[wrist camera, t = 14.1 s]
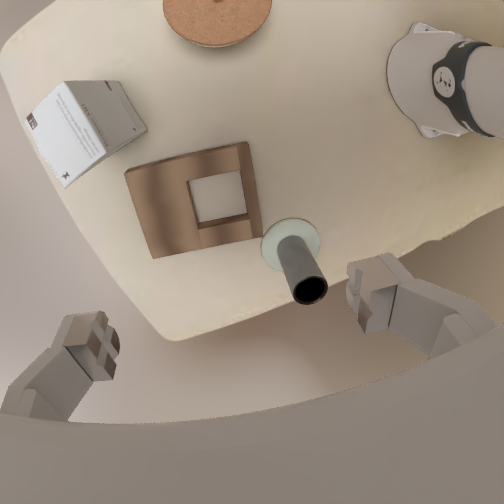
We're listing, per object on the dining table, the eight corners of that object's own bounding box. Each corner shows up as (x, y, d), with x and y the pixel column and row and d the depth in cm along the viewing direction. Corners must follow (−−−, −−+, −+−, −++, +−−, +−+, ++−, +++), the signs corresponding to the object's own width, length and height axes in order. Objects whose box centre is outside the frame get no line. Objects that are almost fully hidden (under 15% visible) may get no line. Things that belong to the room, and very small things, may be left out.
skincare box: (148, 129, 34) (113, 155, 21) (112, 154, 35) (64, 194, 22) (117, 78, 30) (64, 77, 17) (80, 105, 30) (18, 122, 18)
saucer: (317, 213, 43) (318, 215, 42) (319, 263, 48) (320, 265, 47) (256, 224, 43) (257, 227, 42) (265, 274, 48) (265, 277, 47)
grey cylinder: (281, 265, 46) (298, 310, 37) (272, 241, 44) (288, 284, 35) (309, 254, 46) (331, 297, 37) (301, 230, 43) (324, 270, 35)
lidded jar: (172, 57, 29) (159, 47, 22) (172, -16, 24) (162, -43, 16) (260, 53, 31) (275, 42, 23) (259, -19, 25) (274, -47, 17)
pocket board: (246, 141, 37) (248, 144, 35) (261, 229, 43) (263, 236, 42) (127, 169, 36) (123, 173, 34) (154, 251, 43) (152, 259, 41)
